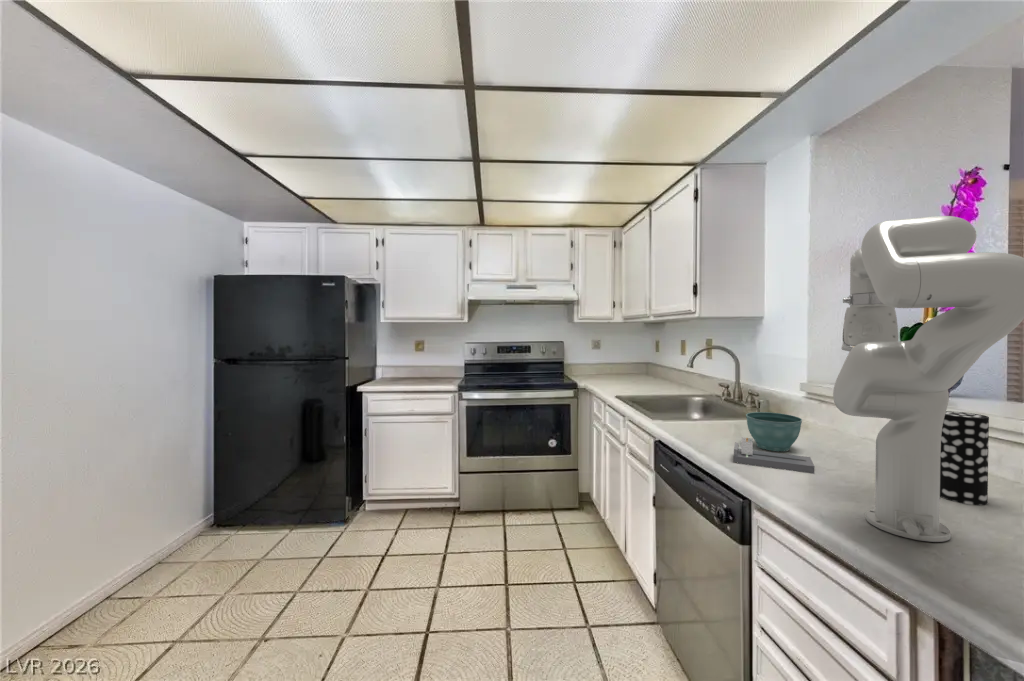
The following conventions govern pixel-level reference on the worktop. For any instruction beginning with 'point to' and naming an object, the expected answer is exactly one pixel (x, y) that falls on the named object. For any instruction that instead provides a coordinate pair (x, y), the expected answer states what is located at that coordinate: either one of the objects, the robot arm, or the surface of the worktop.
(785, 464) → the fader console
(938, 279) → the robot arm
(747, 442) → the fader knob
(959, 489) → the white-spotted black cylinder
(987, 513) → the worktop surface
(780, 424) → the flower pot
